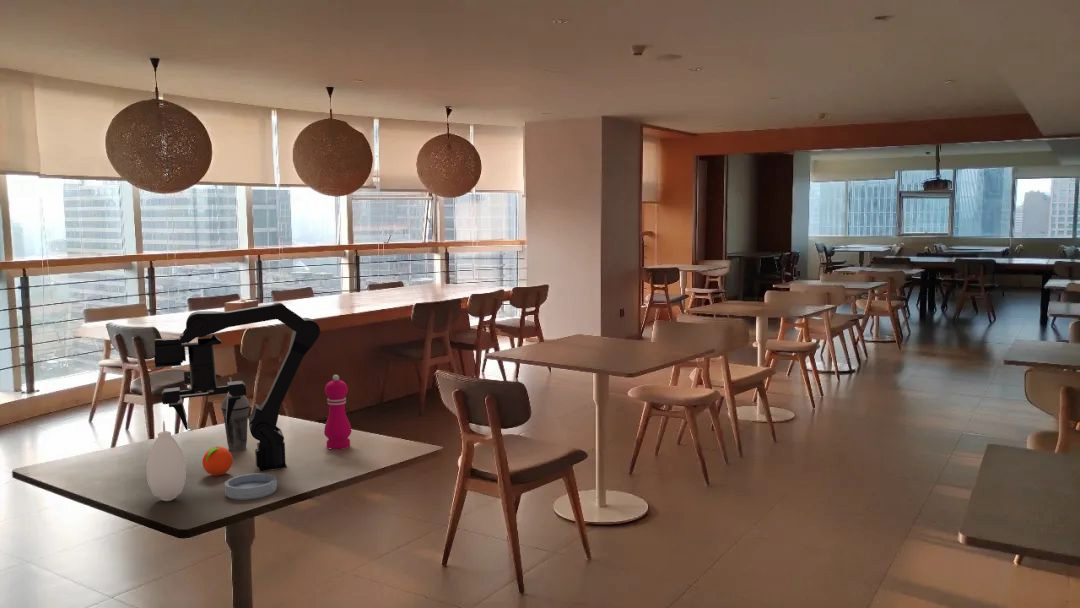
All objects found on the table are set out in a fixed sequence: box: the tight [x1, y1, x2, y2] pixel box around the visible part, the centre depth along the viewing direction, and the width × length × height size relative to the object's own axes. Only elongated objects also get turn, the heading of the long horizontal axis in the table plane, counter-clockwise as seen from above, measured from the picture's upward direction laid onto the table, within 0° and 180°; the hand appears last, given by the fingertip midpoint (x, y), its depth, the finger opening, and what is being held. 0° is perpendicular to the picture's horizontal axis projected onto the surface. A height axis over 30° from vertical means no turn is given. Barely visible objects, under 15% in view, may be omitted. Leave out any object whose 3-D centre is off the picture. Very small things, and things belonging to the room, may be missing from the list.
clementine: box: [201, 446, 234, 476], centre depth 199 cm, size 8×7×7 cm
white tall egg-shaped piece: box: [146, 420, 187, 502], centre depth 181 cm, size 8×8×18 cm
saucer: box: [224, 472, 278, 501], centre depth 187 cm, size 11×11×3 cm
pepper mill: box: [323, 374, 352, 450], centre depth 223 cm, size 7×7×20 cm
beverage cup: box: [221, 376, 251, 452], centre depth 222 cm, size 7×7×20 cm
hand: (207, 426), depth 200 cm, fingers open, 9 cm apart
